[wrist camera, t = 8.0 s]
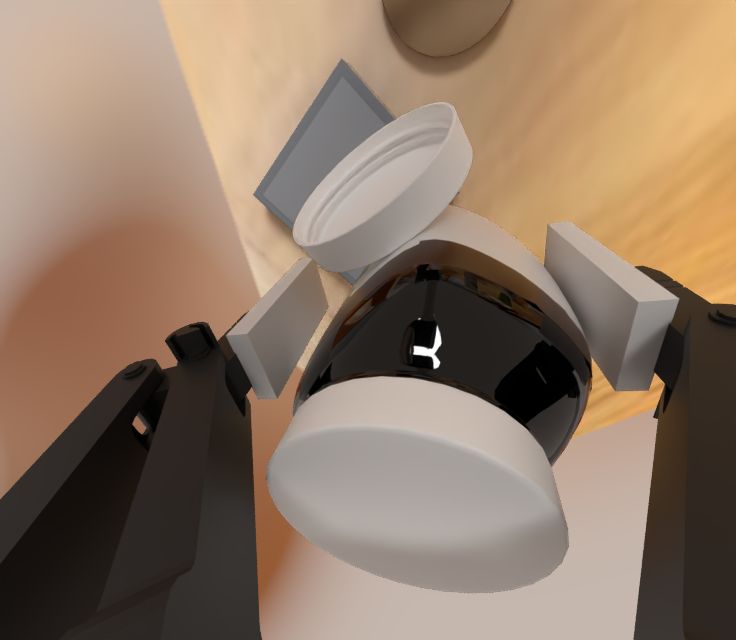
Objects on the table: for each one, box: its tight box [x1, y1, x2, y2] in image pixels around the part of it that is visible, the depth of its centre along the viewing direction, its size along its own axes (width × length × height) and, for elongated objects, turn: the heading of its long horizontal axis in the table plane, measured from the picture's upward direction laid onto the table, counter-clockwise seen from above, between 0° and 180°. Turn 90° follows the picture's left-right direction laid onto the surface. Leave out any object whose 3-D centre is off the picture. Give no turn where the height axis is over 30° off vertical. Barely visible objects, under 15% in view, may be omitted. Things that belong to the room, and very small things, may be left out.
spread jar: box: [266, 102, 592, 593], centre depth 11 cm, size 12×11×12 cm
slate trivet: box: [253, 59, 459, 286], centre depth 30 cm, size 14×14×3 cm
